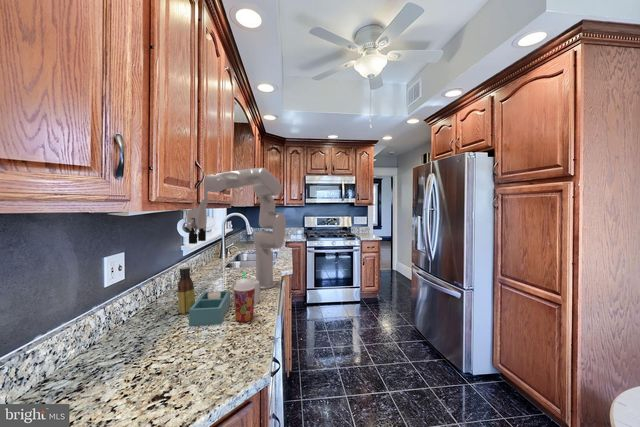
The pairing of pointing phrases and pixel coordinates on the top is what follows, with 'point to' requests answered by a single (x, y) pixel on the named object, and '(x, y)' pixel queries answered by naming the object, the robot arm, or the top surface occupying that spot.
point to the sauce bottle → (185, 291)
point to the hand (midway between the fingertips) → (197, 242)
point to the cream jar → (214, 295)
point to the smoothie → (244, 299)
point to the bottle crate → (209, 309)
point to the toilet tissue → (256, 284)
